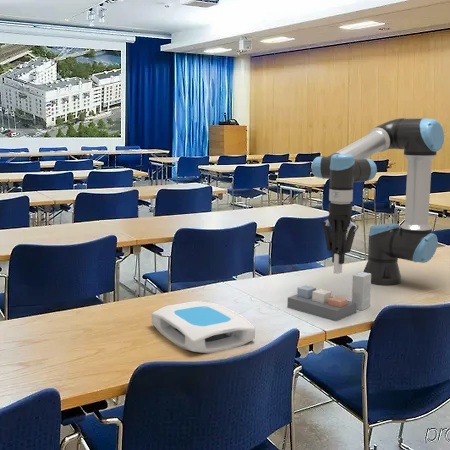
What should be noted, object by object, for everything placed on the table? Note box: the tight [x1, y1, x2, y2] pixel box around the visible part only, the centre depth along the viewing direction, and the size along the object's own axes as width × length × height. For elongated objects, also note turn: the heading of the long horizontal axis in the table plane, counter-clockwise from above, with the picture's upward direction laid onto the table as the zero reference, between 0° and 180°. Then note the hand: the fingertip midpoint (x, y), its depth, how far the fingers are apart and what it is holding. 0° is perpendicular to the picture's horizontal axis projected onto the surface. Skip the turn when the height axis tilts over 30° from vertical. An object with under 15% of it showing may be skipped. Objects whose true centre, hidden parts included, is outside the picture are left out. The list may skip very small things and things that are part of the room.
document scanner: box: [151, 300, 256, 354], centre depth 181 cm, size 21×28×6 cm
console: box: [287, 294, 357, 322], centre depth 205 cm, size 12×20×4 cm, turn 46°
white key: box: [312, 288, 332, 303], centre depth 204 cm, size 5×5×4 cm
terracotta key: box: [328, 295, 349, 308], centre depth 200 cm, size 5×5×4 cm
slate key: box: [296, 284, 317, 299], centre depth 209 cm, size 5×5×4 cm
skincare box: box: [351, 271, 372, 311], centre depth 207 cm, size 6×4×12 cm
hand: (337, 272), depth 199 cm, fingers closed
